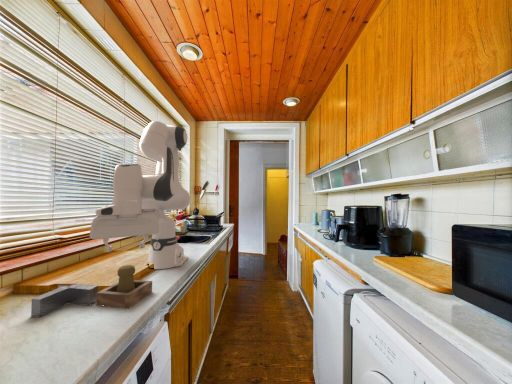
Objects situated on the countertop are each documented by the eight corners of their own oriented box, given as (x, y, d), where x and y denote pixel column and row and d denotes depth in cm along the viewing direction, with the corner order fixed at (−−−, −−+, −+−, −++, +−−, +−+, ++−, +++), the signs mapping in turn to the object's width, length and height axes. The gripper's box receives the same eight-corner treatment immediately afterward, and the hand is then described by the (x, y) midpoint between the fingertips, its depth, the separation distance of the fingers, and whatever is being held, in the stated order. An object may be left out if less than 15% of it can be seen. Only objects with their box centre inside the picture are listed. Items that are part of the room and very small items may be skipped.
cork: (126, 303, 69) (127, 269, 70) (110, 301, 71) (111, 268, 71) (140, 295, 75) (140, 263, 76) (125, 293, 77) (126, 262, 77)
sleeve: (123, 290, 80) (123, 279, 80) (151, 292, 78) (152, 281, 78) (96, 305, 68) (96, 292, 68) (128, 308, 66) (128, 295, 67)
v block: (36, 307, 67) (36, 290, 67) (97, 293, 76) (98, 279, 76) (29, 319, 60) (29, 301, 60) (97, 303, 69) (98, 287, 70)
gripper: (157, 208, 82) (157, 244, 82) (90, 209, 70) (89, 252, 70) (161, 209, 77) (160, 247, 77) (90, 210, 65) (88, 256, 65)
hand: (126, 249), depth 73 cm, fingers open, 8 cm apart
